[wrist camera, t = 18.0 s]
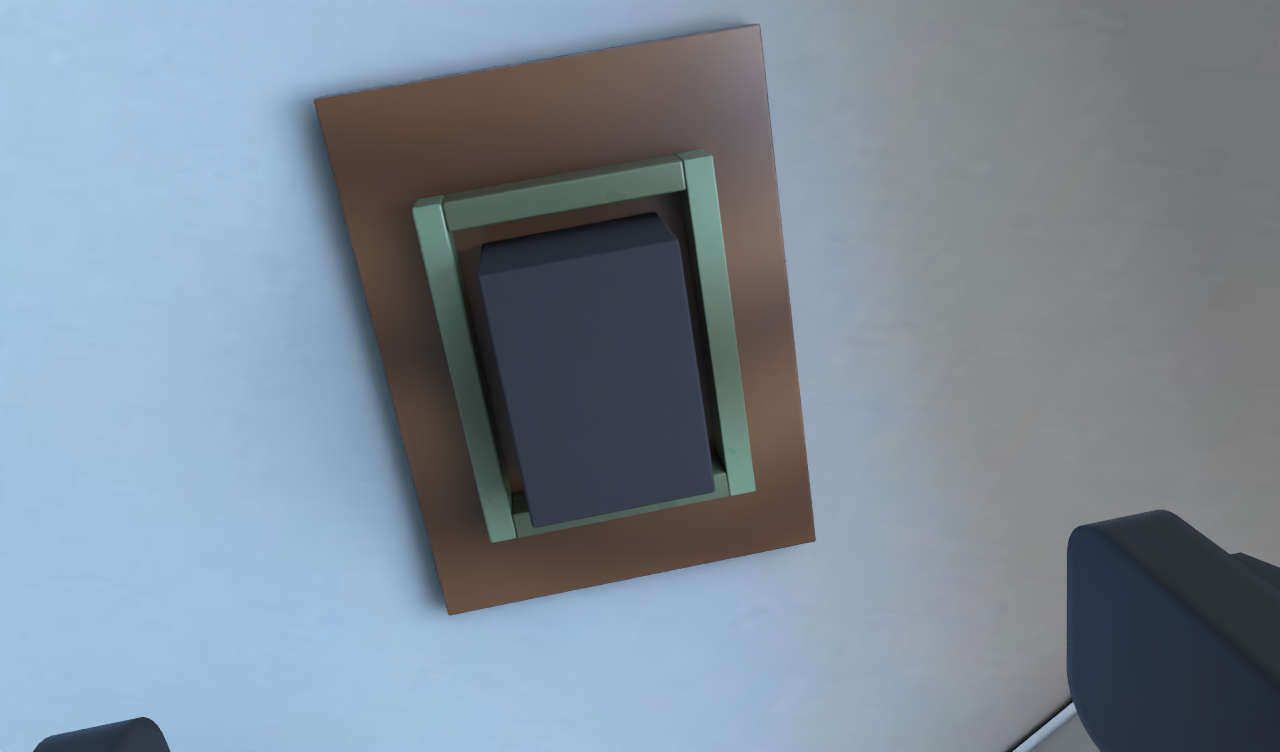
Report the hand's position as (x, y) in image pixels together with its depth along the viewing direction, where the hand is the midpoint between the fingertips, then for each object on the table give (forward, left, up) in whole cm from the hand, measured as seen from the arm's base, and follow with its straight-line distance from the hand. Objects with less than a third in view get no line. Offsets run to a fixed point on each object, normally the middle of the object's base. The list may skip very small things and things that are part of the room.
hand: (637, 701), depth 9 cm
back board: (+3, +1, -22) cm, 22 cm away
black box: (+3, +1, -21) cm, 21 cm away
